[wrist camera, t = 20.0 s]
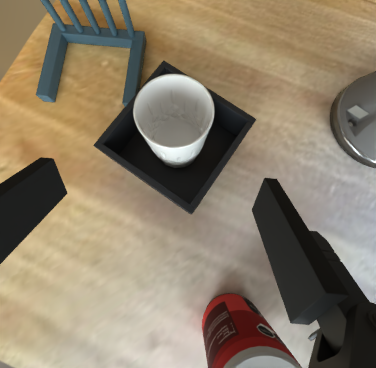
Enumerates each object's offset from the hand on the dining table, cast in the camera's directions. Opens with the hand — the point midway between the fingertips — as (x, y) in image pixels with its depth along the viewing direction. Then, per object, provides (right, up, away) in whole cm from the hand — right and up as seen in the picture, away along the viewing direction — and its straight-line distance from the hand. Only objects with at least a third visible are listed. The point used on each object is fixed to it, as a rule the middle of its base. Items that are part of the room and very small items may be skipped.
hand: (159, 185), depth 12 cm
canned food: (+8, -19, +13) cm, 24 cm away
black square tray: (0, +6, +16) cm, 17 cm away
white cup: (0, +6, +16) cm, 17 cm away
